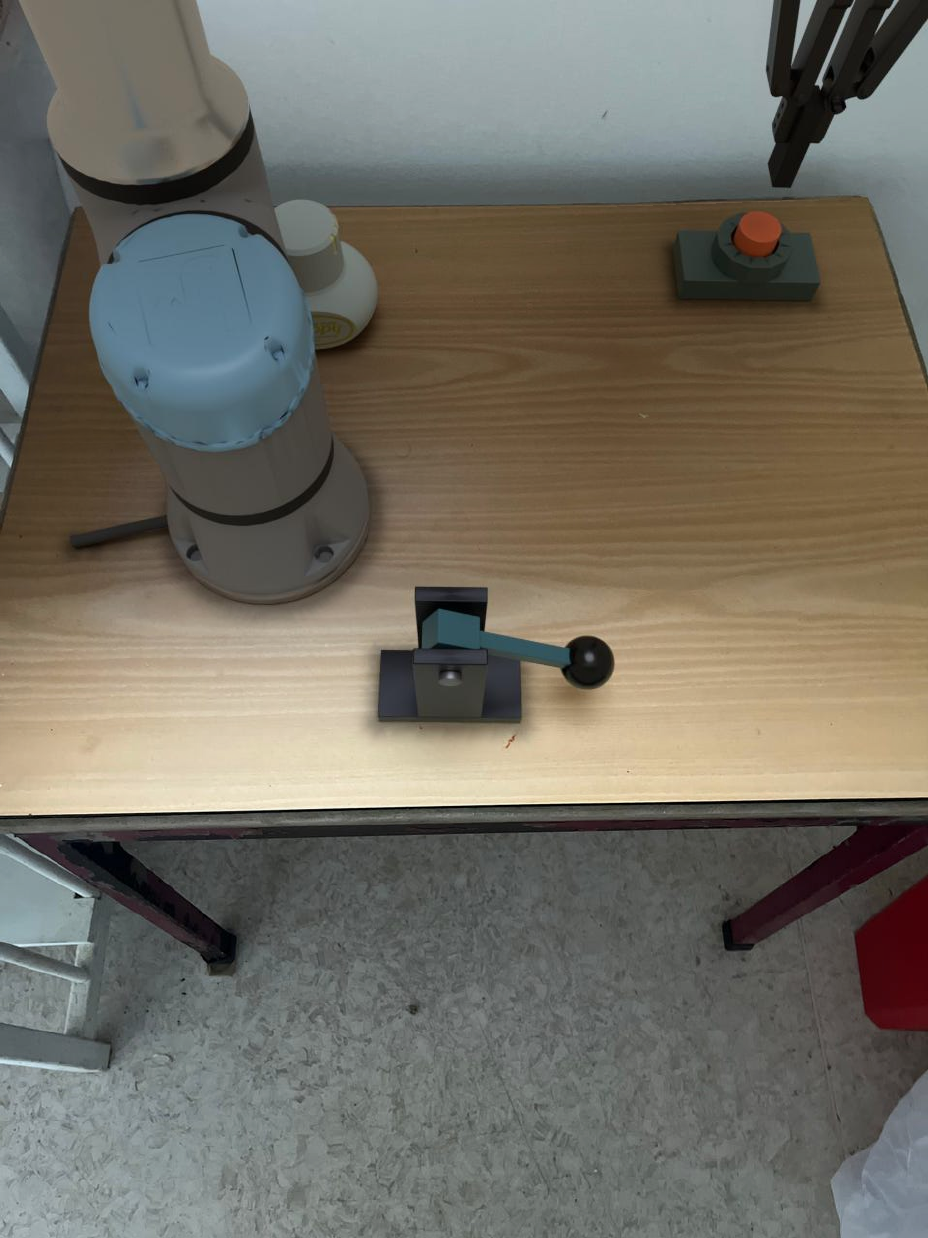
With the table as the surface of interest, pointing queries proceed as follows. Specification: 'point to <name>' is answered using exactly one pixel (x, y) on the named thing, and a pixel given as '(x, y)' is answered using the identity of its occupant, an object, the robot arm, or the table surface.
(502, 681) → the switch bracket
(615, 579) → the table surface
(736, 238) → the button
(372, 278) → the air freshener
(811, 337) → the table surface
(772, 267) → the button box
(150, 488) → the table surface
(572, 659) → the switch lever
